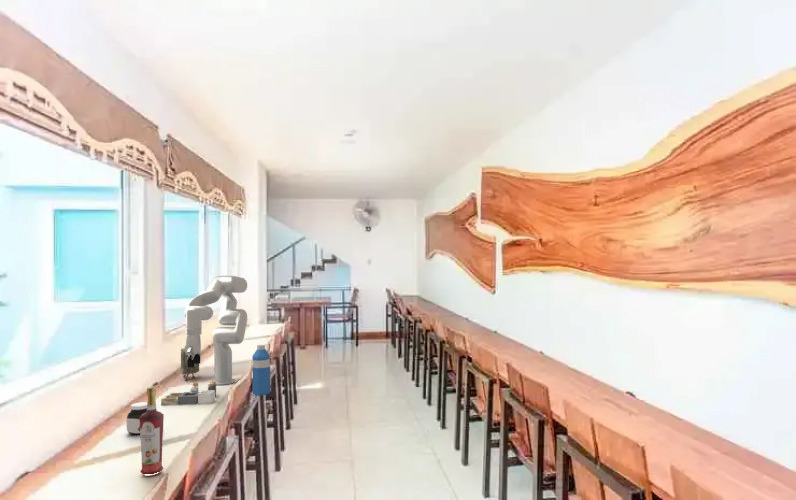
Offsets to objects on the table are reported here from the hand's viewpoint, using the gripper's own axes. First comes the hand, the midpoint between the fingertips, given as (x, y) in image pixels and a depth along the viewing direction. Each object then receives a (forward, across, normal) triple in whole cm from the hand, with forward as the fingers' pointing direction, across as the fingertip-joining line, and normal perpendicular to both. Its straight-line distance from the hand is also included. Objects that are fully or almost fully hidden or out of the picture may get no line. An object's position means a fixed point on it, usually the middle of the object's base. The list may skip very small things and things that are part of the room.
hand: (194, 365), depth 289 cm
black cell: (+16, 0, +9) cm, 19 cm away
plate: (+14, +10, +1) cm, 17 cm away
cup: (+16, +11, +10) cm, 22 cm away
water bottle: (+16, -5, +33) cm, 37 cm away
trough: (+16, +9, -7) cm, 20 cm away
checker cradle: (+16, +10, +1) cm, 19 cm away
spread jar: (+16, +57, -2) cm, 59 cm away
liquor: (+16, +104, +20) cm, 107 cm away
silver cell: (+16, 0, 0) cm, 16 cm away
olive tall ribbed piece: (+16, -45, -17) cm, 51 cm away
